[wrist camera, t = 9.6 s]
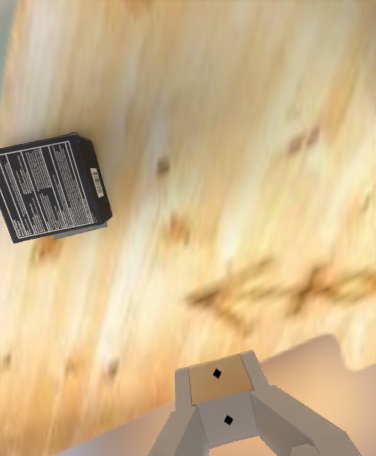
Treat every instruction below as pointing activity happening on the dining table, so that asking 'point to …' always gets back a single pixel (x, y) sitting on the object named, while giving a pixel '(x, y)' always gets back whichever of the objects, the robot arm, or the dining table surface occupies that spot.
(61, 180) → the small box
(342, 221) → the dining table surface
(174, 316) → the dining table surface
